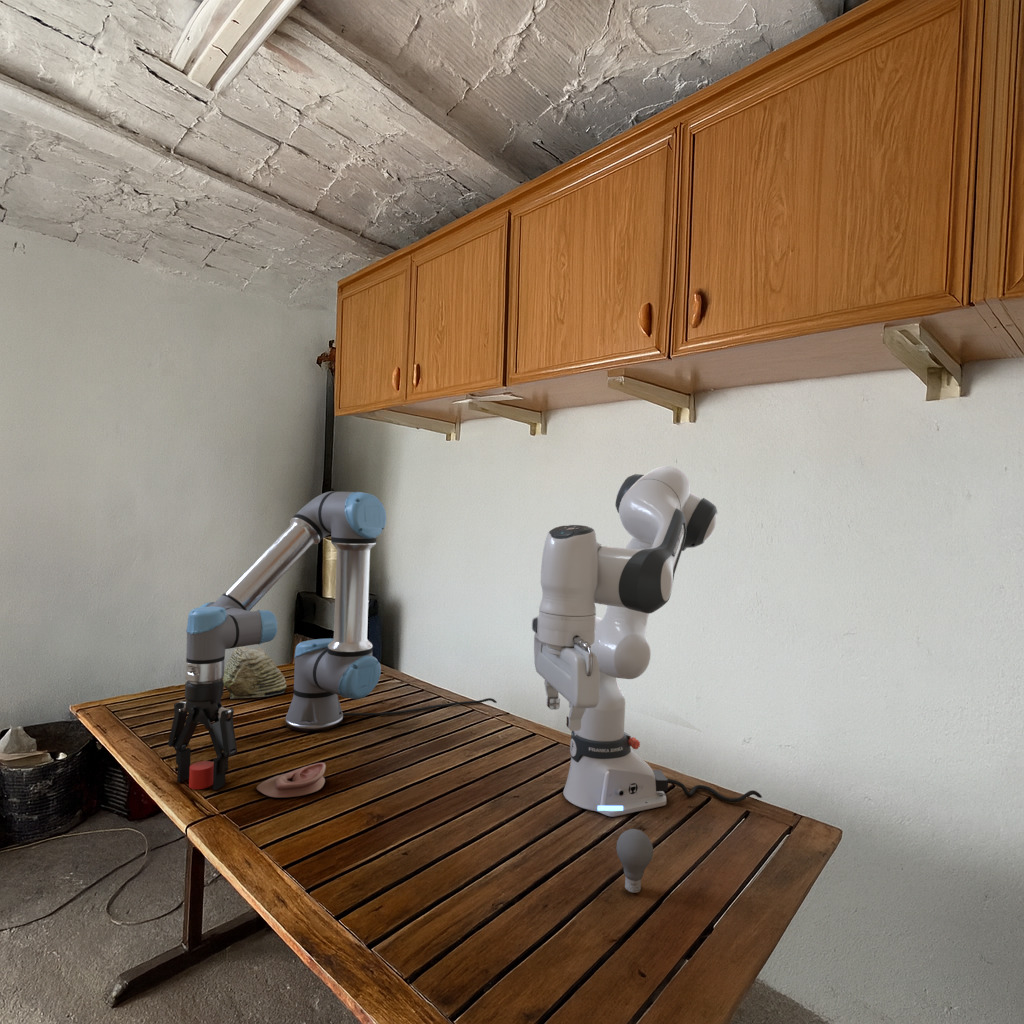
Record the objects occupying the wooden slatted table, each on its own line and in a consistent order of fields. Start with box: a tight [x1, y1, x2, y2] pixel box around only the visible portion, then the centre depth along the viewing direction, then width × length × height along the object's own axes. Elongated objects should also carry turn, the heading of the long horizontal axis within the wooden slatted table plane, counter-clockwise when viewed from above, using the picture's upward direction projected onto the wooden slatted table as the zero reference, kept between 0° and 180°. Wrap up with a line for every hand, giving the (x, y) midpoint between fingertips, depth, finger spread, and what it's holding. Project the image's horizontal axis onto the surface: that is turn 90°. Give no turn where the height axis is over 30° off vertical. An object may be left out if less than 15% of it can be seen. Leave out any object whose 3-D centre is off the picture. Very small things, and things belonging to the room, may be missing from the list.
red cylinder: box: [188, 760, 214, 790], centre depth 137 cm, size 5×5×4 cm
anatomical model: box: [256, 762, 327, 799], centre depth 137 cm, size 13×4×12 cm
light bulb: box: [615, 828, 654, 894], centre depth 106 cm, size 6×6×10 cm
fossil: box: [222, 646, 288, 699], centre depth 198 cm, size 9×18×15 cm, turn 132°
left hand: (200, 783), depth 137 cm, fingers open, 9 cm apart
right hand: (562, 718), depth 99 cm, fingers open, 8 cm apart
